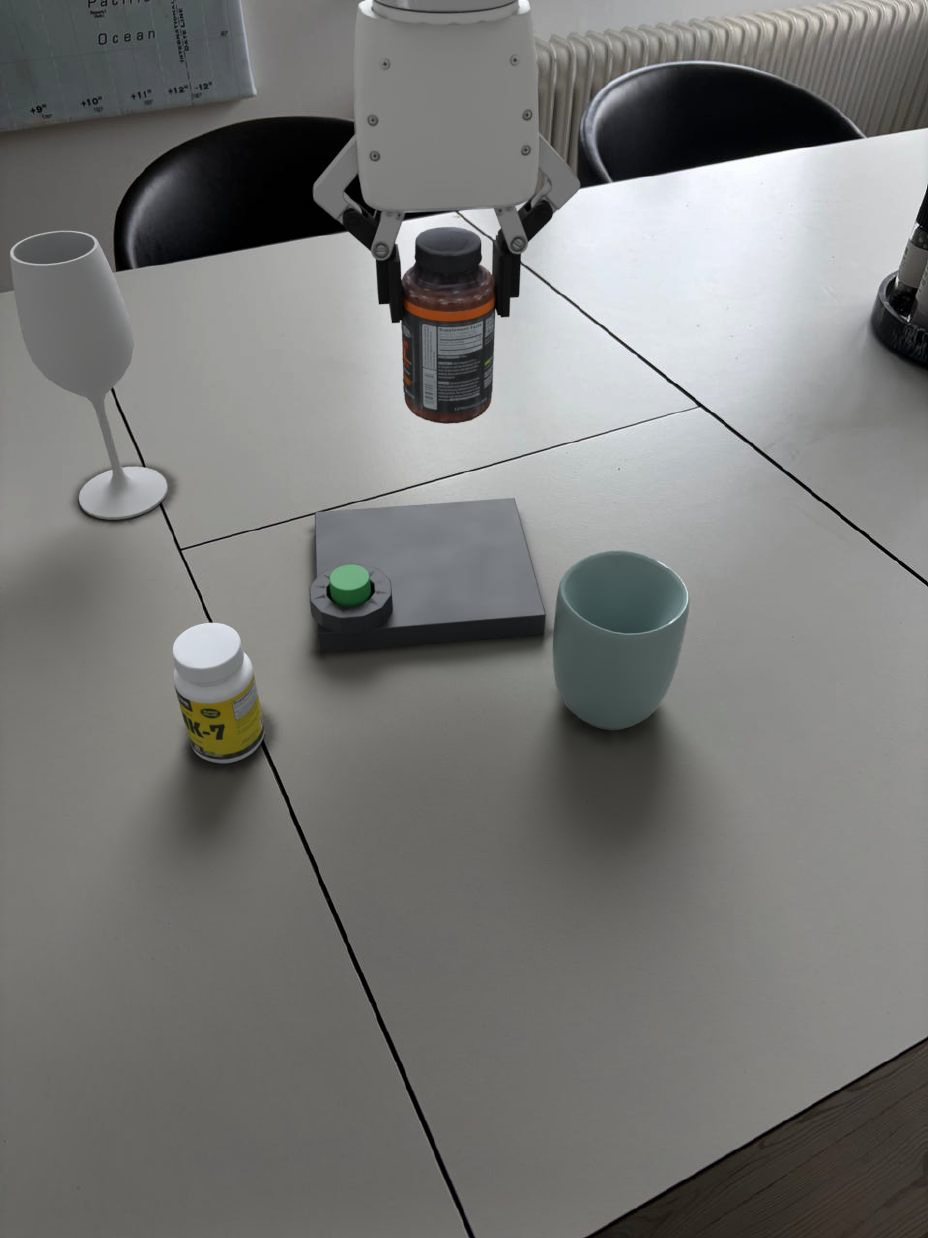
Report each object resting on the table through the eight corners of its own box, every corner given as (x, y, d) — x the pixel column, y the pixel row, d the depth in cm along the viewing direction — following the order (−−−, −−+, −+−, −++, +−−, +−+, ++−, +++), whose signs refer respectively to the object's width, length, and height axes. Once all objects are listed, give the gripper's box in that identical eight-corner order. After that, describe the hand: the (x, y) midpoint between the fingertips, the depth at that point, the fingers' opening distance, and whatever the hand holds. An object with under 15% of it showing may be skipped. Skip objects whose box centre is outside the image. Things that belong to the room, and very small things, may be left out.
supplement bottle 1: (175, 748, 64) (147, 655, 58) (221, 700, 67) (199, 607, 61) (235, 777, 63) (212, 684, 57) (280, 726, 66) (263, 633, 60)
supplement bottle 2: (402, 382, 70) (397, 218, 62) (488, 380, 70) (493, 217, 62) (404, 429, 65) (399, 259, 58) (495, 427, 66) (502, 257, 58)
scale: (315, 657, 70) (309, 620, 68) (312, 531, 81) (308, 495, 78) (545, 637, 72) (548, 601, 69) (513, 516, 82) (515, 480, 80)
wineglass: (61, 491, 84) (-22, 245, 70) (143, 457, 88) (80, 217, 74) (103, 533, 80) (24, 281, 66) (187, 495, 84) (130, 249, 70)
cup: (525, 697, 67) (532, 585, 61) (606, 645, 71) (621, 533, 64) (609, 767, 63) (627, 655, 56) (690, 708, 67) (716, 596, 60)
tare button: (331, 608, 69) (329, 591, 68) (330, 582, 71) (328, 565, 70) (372, 605, 70) (370, 588, 68) (369, 579, 72) (368, 562, 70)
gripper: (596, -44, 54) (571, 278, 67) (274, -37, 53) (309, 291, 65) (629, -13, 49) (595, 331, 61) (271, -4, 47) (310, 346, 60)
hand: (448, 307), depth 63 cm, fingers closed on supplement bottle 2, 6 cm apart
